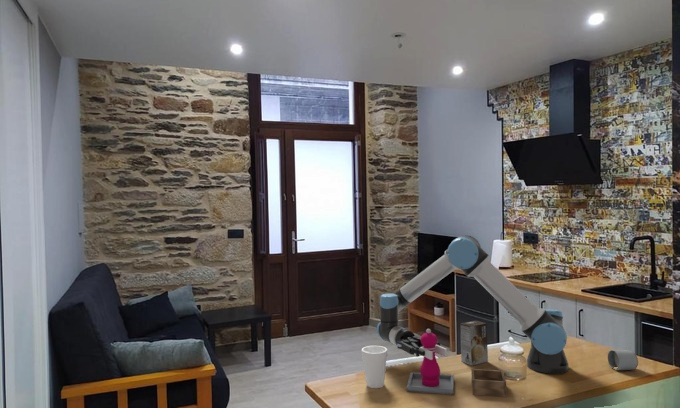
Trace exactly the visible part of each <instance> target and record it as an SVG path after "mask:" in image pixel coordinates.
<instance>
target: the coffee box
mask: <svg viewBox="0 0 680 408" xmlns="http://www.w3.org/2000/svg"><path fill="white" fill-rule="evenodd" d="M459 326H460V327H459V328H460V354H461V356H460V357H461V358H460V359H461V362H462V363H464V364H467V365H469V366H475V365H479V364H484V363H488V362H489V356H488V355H489V353H488V350H489V349H488V331H487V330H488V329H487V326H488V325H487V323H486V322H482V321H480V320H471V321H466V322H461V323H459Z"/></svg>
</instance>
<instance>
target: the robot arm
mask: <svg viewBox="0 0 680 408" xmlns="http://www.w3.org/2000/svg"><path fill="white" fill-rule="evenodd" d="M456 270H460V271H461V272H462V273H463V274H464V275H465V276H466V277H468V278H469V277H470V278H474V279H475V280H476V281H477V282H478V283H479V284H480V285H481V286H482V287H483V288H484V289H485V290H486V291H487V292H488V293H489V294H490V295H491V296H492V297H493V298H494V299H495V300H496V301H497V302H498V303H499V304H500V305H501V306H502V307H503V308H504V309H505V310H506V311H507V312H508V313H509V314H510V315H511V316H512V317H513V318H514V319H515V320H516V321H517V322H518V323H519V324H520V331H521V332H522V333H523V334H524V335H525V336H527V338H528V339H529V340H530V344H531V345H530V348H529V352H528V354H527V359H526V366H527V367H528V368H529V369H530V370H533V371H536V372H538V373H543V374H544V373H545V374H550V375H553V374H557V375H558V374H564V373H566V372H567V373H568V371H570V370H569V362H568V358H567V355H566V353H565V351H564V348H565V347H566V344H567V339H568V336H567V333H566V331H565V328H564V324H563V318H564V316H563V312H562V311H561V310H559V309H556V308H555V309H553V308H541V307H539V308H538V307H537V306H536V305H534V303H533V302H532V301H530V299H528V298H527V297H526V295H525V294H523V293H522V292H521V290H520V289H518V288H517V286H516V285H514V283H512V282H511V280H509V279H508V278H507V277H506V276H505V275H504V274H503V273H502V272H501V271H500V269H498V268H497V267H495V265H494V264H492V262H491V261H490V255H489V254H488V253H487V252H486V251H485V250H484V249H483V248H482V247H481V244H480V242H479V241H478V239H476V238H475V237H473V236H471V235H467V234H466V235H465V234H464V235H461V236H459V237H456V238H454V239H453V240H452V241H451V243H450V244H449V245H448V247H447V249H446V250H445V251H444V254H443V255H442V256H441V257H439V258H438V259H437V260H435V261H434V262H432V263H431V264H430V265H429V266H427V267H426V268H424V269H423V270H422V271H421V272H420V273H418V274H417V275H416V276H415V277H413V278H411V280H409V281H407V283H405V284H404V285H403V286H402V287H401V288H399V289H398V290H396V291H395V292H394V293H383V294H381V295H380V298H379V313H380V314H379V315H380V322H378V323H377V326H376V331H375V332H376V334H377V337H379V338H380V339H381V340H383V341H384V342H385V341H386V342H388V343H390V344H392V345H394V346H396V347H397V349H398V350H402V351H404V352H406V353H408V354H409V355H412V356H413V355H415V356H416V358H417V357H420V356H422V357H423V358H424V357H426V358H428V359H430V360H433V352H432V351H430V350H427V349H425V348H423V347H422V346H423V345H422V343H421V337H418V336H416V335H415V334H414V332H413V331H412V330H409V329H407V328H404V327H402V326H399V313H400V312H401V311H402V310H403V309H404V308H406V307H407V306H408V305H409V304H411V303H412V302H413V301H415V300H416V299H417V298H419V297H420V296H421V295H423V294H424V293H425V292H427V291H428V290H429V289H431V288H432V287H433V286H435V285H437V284H438V283H439V282H440V281H441V280H442V279H444V278H445V277H447V276H448V275H449V274H450V275H451V273H452V272H454V271H456ZM435 346H436V351H435V354H438V355H440V356H442V357H444V358H447V357H448V348H447V347H446V348H445V347H443V346H441V342H439V341H437V344H436V345H435Z"/></svg>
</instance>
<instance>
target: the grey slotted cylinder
mask: <svg viewBox="0 0 680 408" xmlns="http://www.w3.org/2000/svg"><path fill="white" fill-rule="evenodd" d="M607 363H608V365H609V367H610V368H611V369H612V368H614V367H618V368H617V369H615V370H614V371H632V370H635V369H637V368H638V366H639V359H638V355H636V353H635V352H634V351H632V350H628V349H609V350H608V353H607Z"/></svg>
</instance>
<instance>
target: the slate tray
mask: <svg viewBox="0 0 680 408" xmlns="http://www.w3.org/2000/svg"><path fill="white" fill-rule="evenodd" d="M422 378H423V376H422V375H421V373H420V372H410V373H409V377H408V381H407V384H406V392H409V393H410V392H411V393H412V392H413V393H425V394H437V395H449V396H450V395H451V396H452V395H453V396H454V388H455V387H454V382H455V380H454V379H455V377H454V374H445V373H444V374H442V373H440V375H439V377H438V378H439V385H438V386H435V387H428V386H424V385H423V384H422Z"/></svg>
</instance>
